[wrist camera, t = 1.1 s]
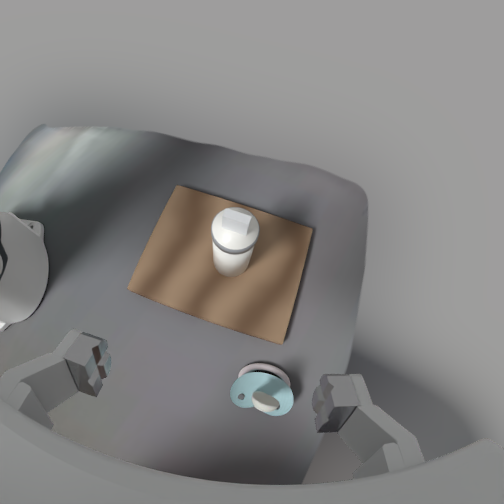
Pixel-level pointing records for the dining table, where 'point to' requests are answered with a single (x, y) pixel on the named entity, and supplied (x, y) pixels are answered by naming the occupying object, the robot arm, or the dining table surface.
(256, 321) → the board
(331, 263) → the dining table surface
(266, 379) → the pacifier
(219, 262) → the white bar-topped cylinder
